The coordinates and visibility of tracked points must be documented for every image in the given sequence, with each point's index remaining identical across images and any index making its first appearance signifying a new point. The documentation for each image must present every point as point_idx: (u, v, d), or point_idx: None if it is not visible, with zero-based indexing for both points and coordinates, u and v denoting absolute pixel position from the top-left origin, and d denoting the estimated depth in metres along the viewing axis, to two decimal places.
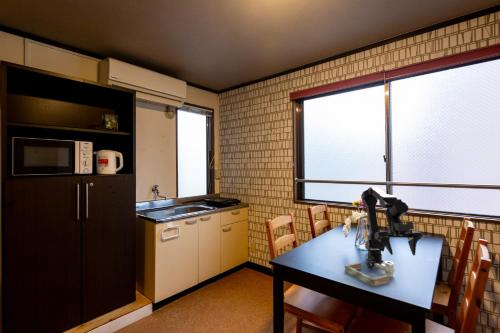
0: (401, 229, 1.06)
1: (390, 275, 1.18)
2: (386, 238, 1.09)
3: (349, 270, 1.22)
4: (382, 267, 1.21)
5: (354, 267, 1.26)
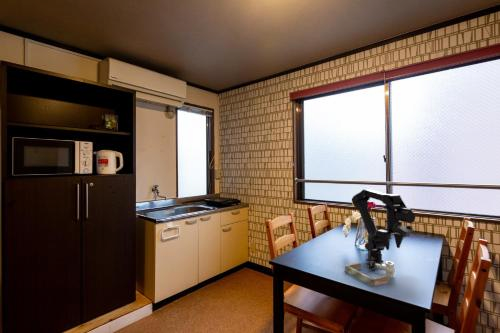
0: (405, 235, 1.18)
1: (390, 275, 1.18)
2: (389, 239, 1.22)
3: (349, 270, 1.22)
4: (382, 267, 1.21)
5: (354, 267, 1.26)
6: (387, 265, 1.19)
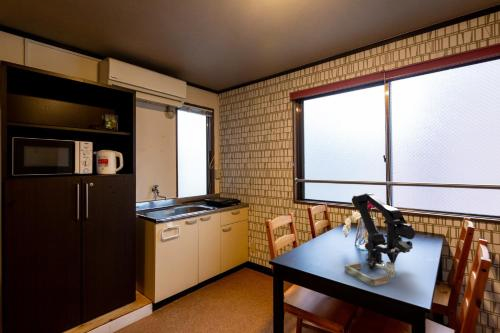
0: (405, 251, 1.19)
1: (391, 275, 1.18)
2: (394, 253, 1.23)
3: (349, 270, 1.22)
4: (383, 267, 1.21)
5: (354, 267, 1.26)
6: (388, 265, 1.18)
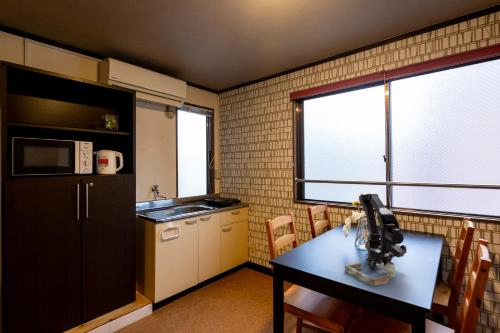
0: (399, 256, 1.17)
1: (391, 276, 1.17)
2: (388, 258, 1.21)
3: (349, 270, 1.22)
4: (383, 267, 1.20)
5: (354, 267, 1.26)
6: (388, 265, 1.18)
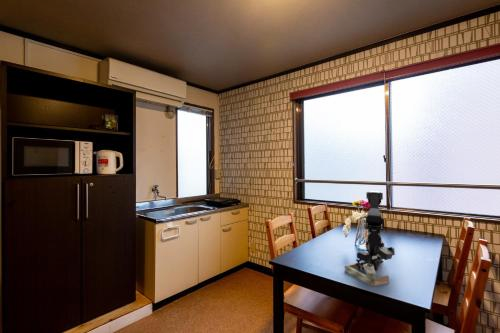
0: (386, 258, 1.13)
1: None
2: (377, 260, 1.18)
3: (349, 270, 1.22)
4: (365, 269, 1.19)
5: (354, 267, 1.26)
6: (366, 267, 1.17)
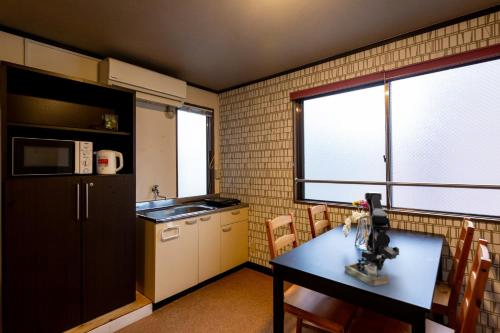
0: (391, 258, 1.15)
1: None
2: (381, 260, 1.19)
3: (349, 270, 1.22)
4: (366, 269, 1.19)
5: (354, 267, 1.26)
6: (368, 267, 1.17)
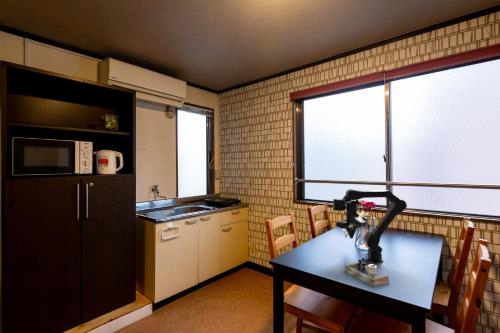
0: (360, 226, 1.33)
1: None
2: (352, 228, 1.37)
3: (349, 270, 1.22)
4: (367, 269, 1.19)
5: (354, 267, 1.26)
6: (368, 267, 1.16)
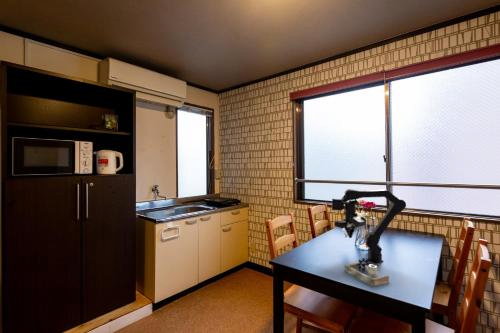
0: (358, 225, 1.34)
1: None
2: (351, 228, 1.39)
3: (349, 270, 1.22)
4: (367, 269, 1.19)
5: (354, 267, 1.26)
6: (369, 267, 1.16)
